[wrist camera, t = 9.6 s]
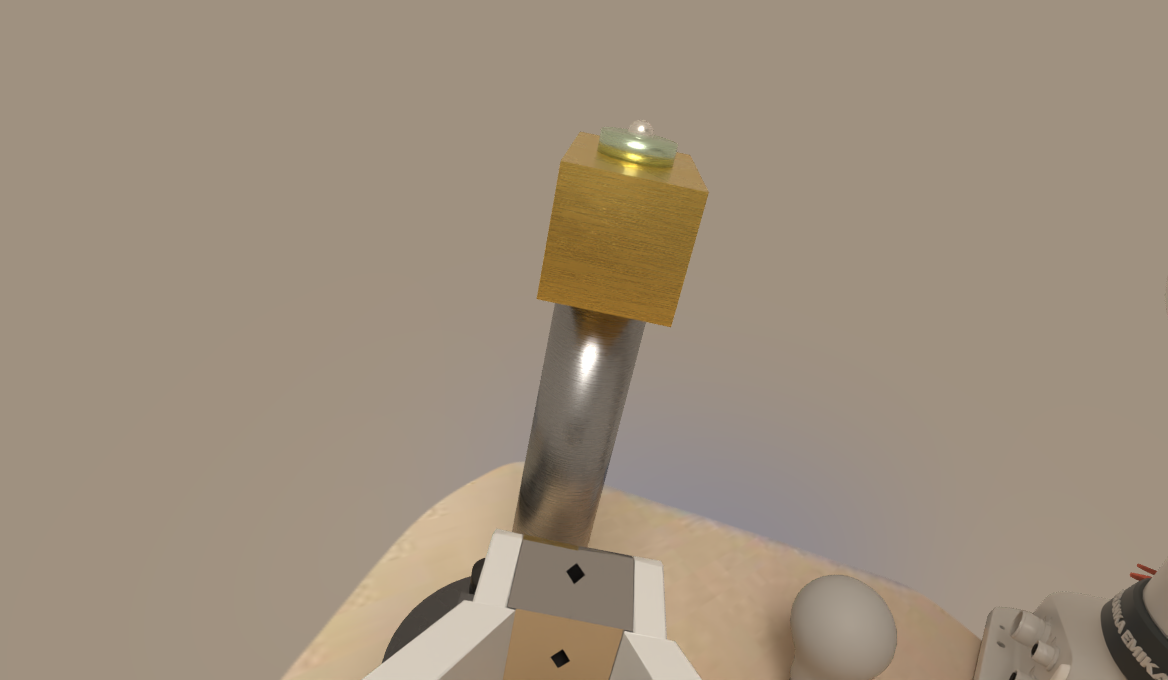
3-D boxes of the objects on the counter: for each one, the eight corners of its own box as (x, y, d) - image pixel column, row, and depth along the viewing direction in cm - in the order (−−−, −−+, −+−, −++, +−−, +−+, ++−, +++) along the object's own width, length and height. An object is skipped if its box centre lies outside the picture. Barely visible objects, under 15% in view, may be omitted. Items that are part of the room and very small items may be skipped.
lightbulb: (811, 663, 46) (868, 551, 41) (864, 748, 41) (937, 630, 36) (738, 673, 44) (790, 556, 39) (784, 763, 39) (850, 640, 34)
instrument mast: (485, 603, 41) (575, 96, 27) (576, 621, 41) (709, 125, 28) (453, 723, 34) (553, 113, 20) (563, 745, 34) (735, 152, 20)
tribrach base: (423, 582, 46) (432, 503, 43) (638, 626, 46) (663, 550, 43) (325, 828, 31) (328, 735, 28) (640, 890, 32) (677, 805, 28)
